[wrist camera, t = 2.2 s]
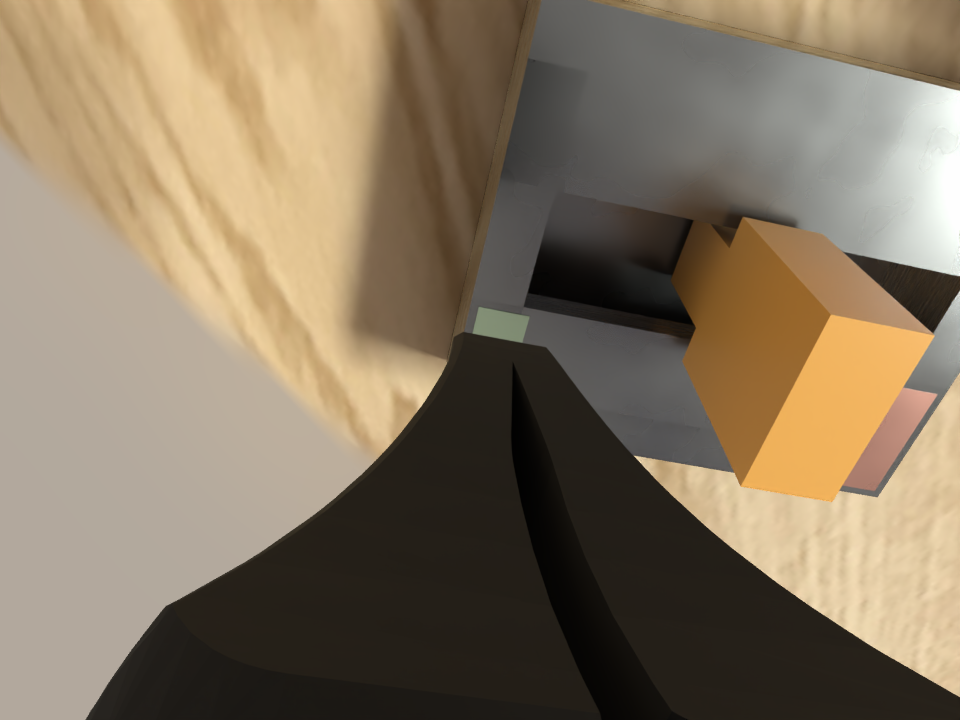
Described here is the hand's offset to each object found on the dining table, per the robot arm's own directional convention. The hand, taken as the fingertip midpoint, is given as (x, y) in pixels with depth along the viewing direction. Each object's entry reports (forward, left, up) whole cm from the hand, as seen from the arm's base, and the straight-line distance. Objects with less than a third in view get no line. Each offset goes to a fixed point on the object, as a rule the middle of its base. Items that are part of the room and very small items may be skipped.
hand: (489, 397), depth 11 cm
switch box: (0, -6, -9) cm, 11 cm away
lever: (0, -6, -9) cm, 11 cm away
